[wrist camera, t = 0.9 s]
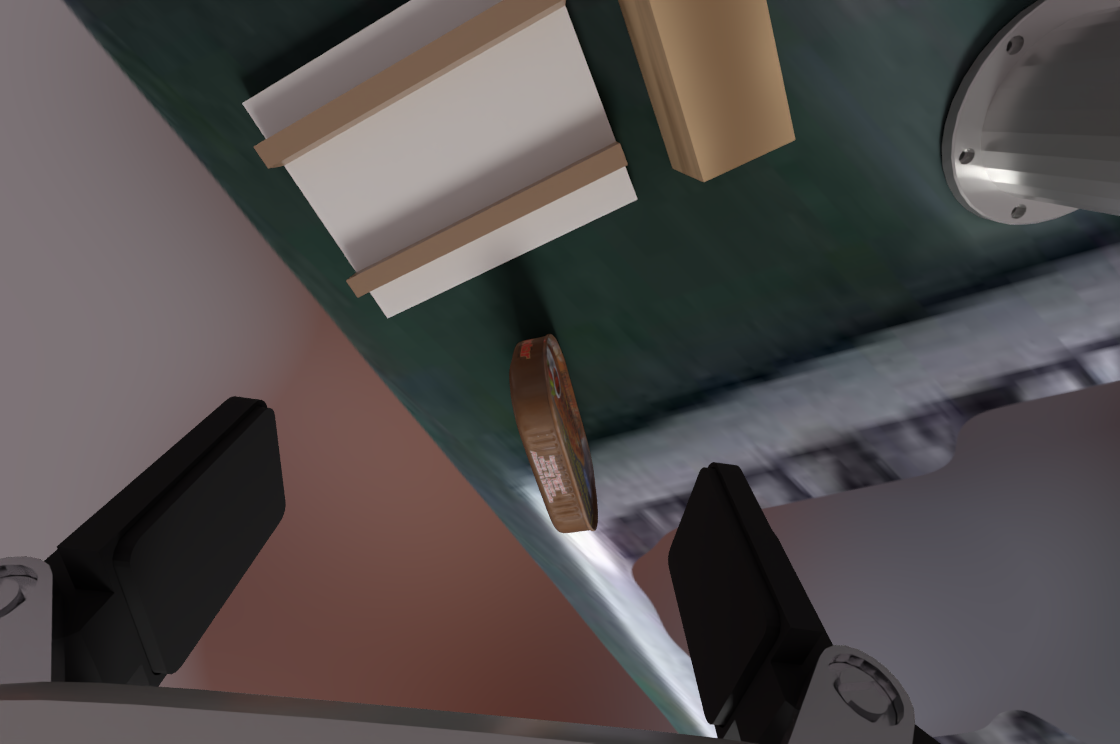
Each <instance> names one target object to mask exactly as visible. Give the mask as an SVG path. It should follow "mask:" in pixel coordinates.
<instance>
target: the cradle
mask: <svg viewBox="0 0 1120 744" xmlns="http://www.w3.org/2000/svg"><path fill="white" fill-rule="evenodd" d="M565 3H566V0H410V1H409V2H407V3H406V4H404V5H402V6H401V7H399V8H397V9H396V10H394V11H392V12H391V13H389V14H388V15H386V16H384V17H383V18H381V19H379V20H378V21H376V22H374V23H373V24H371V25H370V26H368V27H366V28H365V29H363V30H361V31H360V32H358V33H356V34H355V35H353V36H352V37H350V38H348V39H347V40H345V41H343V42H342V43H340V44H338V45H337V46H335V47H334V48H332V49H330V50H329V51H327V52H325V53H324V54H322V55H320V56H319V57H317V58H316V59H314V60H312V61H311V62H309V63H307V64H306V65H304V66H302V67H301V68H299V69H298V70H296V71H294V72H293V73H291V74H289V75H288V76H286V77H284V78H283V79H281V80H280V81H278V82H276V83H275V84H273V85H271V86H270V87H268V88H266V89H265V90H263V91H262V92H260V93H258V94H257V95H255V96H253V97H252V98H250V99H248V100H247V101H245V102H244V103H242V104H243V105H244V107H245V108H246V110H247V111H248V113H249V114H250V116H251V117H252V119H253V120H254V122H255V123H256V125H257V126H258V128H259V129H260V131H261V132H262V134H263V135H264V136H265V138H266V140H264V141H262V142H261V143H259V144H257V145H256V146H254V149H255V150H256V151H257V153H258V154H259V156H260V157H261V159H262V160H263V162H264V163H265V164H266V166H267V167H268V169H269V168H274V167H279V166H285V168H286V169H287V170H288V172H289V173H290V175H291V176H292V178H293V179H294V181H295V182H296V184H297V185H298V187H299V188H300V190H301V191H302V193H303V194H304V196H305V197H306V199H307V200H308V201H309V203H310V204H311V206H312V207H313V209H314V210H315V212H316V213H317V215H318V216H319V218H320V219H321V221H322V222H323V224H324V225H325V227H326V228H327V230H328V231H329V233H330V234H331V235H332V237H333V238H334V240H335V241H336V243H337V244H338V246H339V247H340V249H341V250H342V252H343V253H344V255H345V256H346V258H347V259H348V261H349V262H350V264H351V265H352V266H353V268H354V269H355V271H356V273H355V274H354V275H352V276H351V277H350V278H349V279H347V280H346V281H347V283H348V284H349V286H350V287H351V289H352V290H353V291H354V293H355V294H356V296H357V297H360V296H362V295H364V294H366V293H368V292H370V293H371V295H372V296H373V298H374V299H375V300H376V302H377V303H378V305H379V306H380V308H381V309H382V311H383V312H384V314H385V315H386V317H387V318H389V317H391V316H394V315H396V314H398V313H400V312H402V311H404V310H406V309H408V308H410V307H412V306H415V305H417V304H419V303H421V302H423V301H425V300H427V299H429V298H431V297H433V296H436V295H438V294H440V293H442V292H444V291H446V290H448V289H450V288H452V287H454V286H457V285H459V284H461V283H463V282H465V281H467V280H469V279H471V278H473V277H475V276H478V275H480V274H482V273H484V272H486V271H488V270H490V269H492V268H494V267H496V266H499V265H501V264H503V263H505V262H507V261H509V260H511V259H513V258H515V257H517V256H520V255H522V254H524V253H526V252H528V251H530V250H532V249H534V248H536V247H538V246H541V245H543V244H545V243H547V242H549V241H551V240H553V239H555V238H557V237H559V236H562V235H564V234H566V233H568V232H570V231H572V230H574V229H576V228H578V227H580V226H583V225H585V224H587V223H589V222H591V221H593V220H595V219H597V218H599V217H601V216H604V215H606V214H608V213H610V212H612V211H614V210H616V209H618V208H620V207H622V206H625V205H627V204H629V203H631V202H633V201H635V200H637V197H636V194H635V191H634V189H633V186H632V183H631V180H630V178H629V175H628V172H627V170H626V167H625V166H626V165H628V164H627V161H626V158H625V156H624V153H623V150H622V147H621V145H620V143H618V142H616V140H615V138H614V135H613V132H612V130H611V127H610V124H609V121H608V119H607V116H606V113H605V111H604V108H603V105H602V103H601V100H600V97H599V95H598V92H597V89H596V87H595V84H594V81H593V79H592V76H591V73H590V70H589V68H588V65H587V62H586V60H585V57H584V54H583V52H582V49H581V46H580V44H579V41H578V38H577V36H576V33H575V30H574V28H573V25H572V22H571V20H570V17H569V14H568V11H567V9H566V6H565Z"/></svg>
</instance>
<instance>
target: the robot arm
mask: <svg viewBox="0 0 1120 744" xmlns="http://www.w3.org/2000/svg"><path fill="white" fill-rule="evenodd" d="M942 166H943V170H944V174H945V178H946V182H947V184H948V186H949V188H950V190H951V192H952V193H953V195H954V197H955V198H956V199H957V200H958V201H959V203H960V204H961V205H962V206H963V207H964V208H965V209H967V210H968V211H970V212H972V213H974V214H975V215H977V216H979V217H981V218H985V219H988V220H992V221H995V222H1000V223H1005V224H1011V225H1020V224H1035V223H1039V222H1044V221H1048V220H1052V219H1056V218H1058V217H1061V216H1063V215H1066V214H1068V213H1071V212H1073V211H1076V210H1078V209H1085V210H1090V211H1096V212H1102V213H1107V214H1113V215H1119V216H1120V0H1038V1H1036V2H1035V3H1033V4H1032V5H1030V6H1029V7H1027V8H1026V9H1024V10H1023V11H1021V12H1020V13H1019V14H1018V15H1017V16H1016V17H1014V18H1013V19H1012V20H1011V21H1010V22H1009V23H1008V24H1007V25H1006V26H1004V27H1003V28H1002V29H1001V30H1000V31H999V32H998V33H997V34H996V35H995V36H994V38H993V39H992V40H991V41H990V42H989V43H988V45H987V46H986V47H985V48H984V49H983V50H982V52H981V53H980V54H979V55H978V57H977V58H976V60H975V61H974V63H973V64H972V66H971V67H970V69H969V70H968V72H967V73H966V75H965V76H964V78H963V80H962V82H961V84H960V86H959V89H958V91H957V93H956V95H955V97H954V99H953V101H952V104H951V107H950V110H949V113H948V116H947V120H946V123H945V128H944V134H943V141H942ZM284 511H285V495H284V487H283V478H282V470H281V462H280V454H279V446H278V438H277V429H276V421H275V414H274V411H273V410H272V409H271V408H267V405H266V403H265V402H264V401H262V400H258V399H251V398H243V397H236V396H234V397H230V398H229V399H227V400H226V401H225V402H224V403H223V404H221V405H220V406H219V407H218V408H217V409H216V410H214V411H213V412H212V413H211V414H210V415H209V416H208V417H206V418H205V419H204V420H203V421H202V422H201V423H199V424H198V425H197V426H196V427H195V428H194V429H192V430H191V431H190V432H189V433H188V434H187V435H185V436H184V437H183V438H182V439H181V440H180V441H179V442H177V443H176V444H175V445H174V446H173V447H172V448H170V449H169V450H168V451H167V452H166V453H165V454H163V455H162V456H161V457H160V458H159V459H158V460H157V461H155V462H154V463H153V464H152V465H151V466H150V467H148V468H147V469H146V470H145V471H144V472H143V473H141V474H140V475H139V476H138V477H137V478H136V479H134V480H133V481H132V482H131V483H130V484H129V485H128V486H127V487H125V488H124V489H123V490H122V491H121V492H119V493H118V494H117V495H116V496H115V497H114V498H112V499H111V500H110V501H109V502H108V503H107V504H106V505H105V506H103V507H102V508H101V509H100V510H99V511H97V512H96V513H95V514H94V515H93V516H92V517H90V518H89V519H88V520H87V521H86V522H85V523H83V524H82V525H81V526H80V527H79V528H78V529H77V530H75V531H74V532H73V533H72V534H71V535H70V536H69V537H67V538H66V539H65V540H64V541H63V542H62V543H60V544H59V545H58V546H57V548H58V549H57V550H56V551H55V552H54V553H53V554H52V555H50V557H48V558H47V559H46V560H45V561H42V560H41V559H37V558H32V557H27V556H24V557H6V558H2V559H0V744H940V743H939V742H938V741H936V740H935V739H934V738H932V737H931V736H929V735H928V734H927V733H926V732H924V731H923V730H922V729H920V728H919V727H918V726H917V725H915V715H914V708H913V706H912V703H911V701H910V698H909V696H908V694H907V693H906V691H905V690H904V688H903V687H902V685H901V684H900V682H899V681H898V680H897V679H896V678H895V676H894V675H893V674H891V672H889V670H888V669H887V668H886V667H885V666H883V665H882V664H881V663H879V662H878V661H877V660H876V659H874V658H873V657H871V656H869V655H868V654H866V653H864V652H862V651H860V650H858V649H855V648H851V647H848V646H842V645H841V646H840V645H833V644H832V642H831V640H830V639H829V637H828V635H827V633H826V631H825V629H824V627H823V625H822V623H821V621H820V619H819V617H818V615H817V613H816V611H815V609H814V607H813V605H812V604H811V602H810V600H809V598H808V596H807V594H806V592H805V590H804V588H803V586H802V584H801V582H800V580H799V578H798V576H797V575H796V572H795V571H794V569H793V567H792V565H791V563H790V561H789V559H788V557H787V555H786V553H785V551H784V549H783V547H782V545H781V543H780V541H779V539H778V538H777V536H776V535H775V534H774V532H773V531H772V529H771V527H770V525H769V523H768V521H767V519H766V517H765V515H764V513H763V511H762V509H761V508H760V506H759V504H758V502H757V500H756V498H755V496H754V494H753V492H752V490H751V488H750V486H749V484H748V482H747V480H746V478H745V476H744V474H743V472H742V470H741V469H740V467H739V466H737V465H730V464H723V463H715V462H713V463H711V464H710V465H709V466H708V468H705V467H704V468H702V469H701V470H700V472H699V475H698V477H697V480H696V483H695V485H694V488H693V490H692V493H691V496H690V498H689V501H688V503H687V506H686V509H685V511H684V514H683V516H682V519H681V522H680V524H679V527H678V529H677V532H676V535H675V537H674V540H673V542H672V545H671V548H670V551H669V556H668V565H669V570H670V574H671V578H672V582H673V586H674V590H675V595H676V599H677V603H678V607H679V611H680V616H681V619H682V624H683V628H684V632H685V636H686V640H687V644H688V649H689V653H690V657H691V661H692V665H693V669H694V673H695V678H696V682H697V686H698V690H699V694H700V698H701V702H702V706H703V711H704V714H705V718H706V720H707V722H708V723H709V724H713V725H715V729H716V733H717V737H718V738H711V737H702V736H693V735H685V734H676V733H668V732H659V731H648V730H639V729H629V728H618V727H608V726H597V725H587V724H576V723H567V722H556V721H546V720H535V719H525V718H514V717H503V716H492V715H482V714H471V713H460V712H450V711H439V710H427V709H417V708H406V707H394V706H383V705H372V704H361V703H350V702H339V701H326V700H315V699H303V698H292V697H280V696H268V695H256V694H245V693H232V692H221V691H209V690H198V689H183V688H169V687H158V686H159V685H160V683H161V682H162V681H163V679H164V678H165V676H166V675H167V674H173V673H175V672H176V671H177V670H178V669H179V668H180V667H181V666H182V665H183V663H184V662H185V660H186V659H187V657H188V656H189V654H190V653H191V651H192V650H193V649H194V647H195V646H196V644H197V643H198V641H199V640H200V638H201V637H202V635H203V634H204V633H205V631H206V629H207V628H208V627H209V625H210V624H211V622H212V621H213V619H214V618H215V616H216V615H217V613H218V612H219V611H220V609H221V608H222V606H223V605H224V603H225V602H226V600H227V599H228V597H229V596H230V594H231V593H232V591H233V590H234V589H235V587H236V586H237V584H238V583H239V581H240V580H241V578H242V577H243V575H244V574H245V572H246V571H247V569H248V568H249V567H250V565H251V564H252V562H253V561H254V559H255V558H256V556H257V555H258V553H259V552H260V550H261V549H262V548H263V546H264V545H265V543H266V542H267V540H268V539H269V537H270V536H271V534H272V533H273V531H274V530H275V528H276V527H277V525H278V524H279V522H280V521H281V519H282V517H283V515H284Z"/></svg>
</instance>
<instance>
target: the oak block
mask: <svg viewBox="0 0 1120 744" xmlns="http://www.w3.org/2000/svg"><path fill="white" fill-rule="evenodd" d="M618 1H619V4H620V7H621V11H622V14H623V17H624V20H625V23H626V26H627V29H628V32H629V35H630V38H631V41H632V44H633V48H634V51H635V54H636V57H637V60H638V63H639V66H640V69H641V72H642V75H643V78H644V81H645V85H646V88H647V91H648V94H649V97H650V100H651V103H652V106H653V109H654V112H655V115H656V118H657V122H658V125H659V128H660V131H661V134H662V137H663V140H664V143H665V146H666V149H667V152H668V156H669V159H670V162H671V165H672V168H673V169H675V170H677V171H679V172H682V173H684V174H686V175H688V176H691V177H693V178H695V179H698V180H700V181H702V182H705V181H708V180H710V179H712V178H714V177H716V176H718V175H720V174H723V173H725V172H727V171H729V170H731V169H733V168H736V167H738V166H740V165H742V164H744V163H746V162H749V161H751V160H753V159H755V158H757V157H759V156H761V155H764V154H766V153H768V152H770V151H772V150H774V149H777V148H779V147H781V146H783V145H785V144H787V143H790V142H792V141H794V140H795V136H794V131H793V126H792V121H791V117H790V112H789V107H788V102H787V97H786V93H785V88H784V83H783V78H782V74H781V69H780V64H779V59H778V54H777V50H776V45H775V40H774V35H773V30H772V26H771V21H770V16H769V11H768V7H767V2H766V0H618Z"/></svg>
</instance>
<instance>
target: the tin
mask: <svg viewBox="0 0 1120 744" xmlns="http://www.w3.org/2000/svg"><path fill="white" fill-rule="evenodd" d="M509 378H510V391H511V399H512V405H513V410H514V415H515V419H516V423H517V427H518V430H519V433H520V436H521V439H522V442H523V445H524V448H525V451H526V454H527V457H528V459H529V462H530V465H531V468H532V471H533V474H534V476H535V479H536V482H537V484H538V487H539V490H540V493H541V495H542V498H543V501H544V503H545V506H546V509H547V511H548V514H549V517H550V519H551V521H552V523H553V525H554V527H555V528H556V529H557V530H558V531H559V532H561V533H572V532H579V531H586V530H591V531H595V530H596V528H597V523H598V505H597V495H596V487H595V478H594V470H593V464H592V459H591V455H590V450H589V447H588V442H587V438H586V435H585V431H584V427H583V424H582V421H581V417H580V413H579V410H578V406H577V403H576V399H575V395H574V392H573V388H572V384H571V381H570V377H569V374H568V370H567V367H566V363H565V360H564V357H563V354H562V351H561V349H560V346H559V344H558V342H557V340H556V338H555V337H554V336H553V335H552V334H547V335H546V336H544V337H539V338H535V339H530V340H525V341H522V342H519V343H517V345H516V347H515V349H514V353H513V358H512V362H511V365H510V372H509Z"/></svg>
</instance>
